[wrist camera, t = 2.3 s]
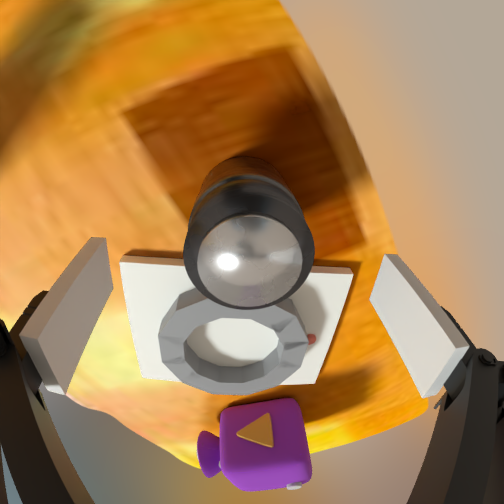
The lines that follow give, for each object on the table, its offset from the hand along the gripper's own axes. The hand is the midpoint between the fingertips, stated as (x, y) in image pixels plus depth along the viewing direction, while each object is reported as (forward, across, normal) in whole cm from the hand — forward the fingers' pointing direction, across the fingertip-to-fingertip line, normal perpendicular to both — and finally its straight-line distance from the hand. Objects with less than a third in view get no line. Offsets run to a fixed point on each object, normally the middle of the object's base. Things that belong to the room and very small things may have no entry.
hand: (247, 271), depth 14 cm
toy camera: (+9, +3, -28) cm, 29 cm away
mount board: (+9, 0, -11) cm, 14 cm away
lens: (+8, 0, +1) cm, 8 cm away
